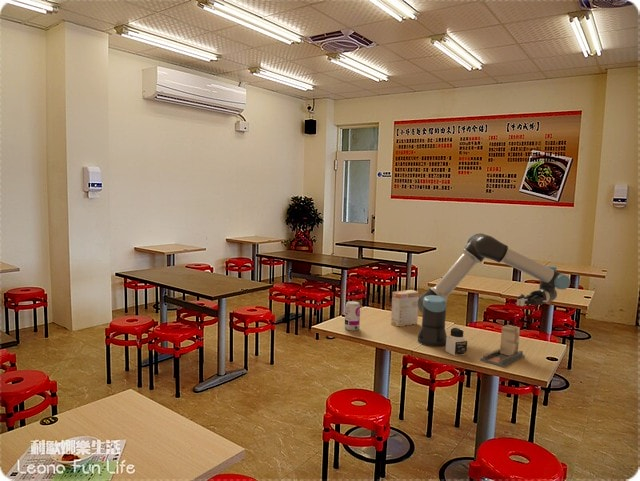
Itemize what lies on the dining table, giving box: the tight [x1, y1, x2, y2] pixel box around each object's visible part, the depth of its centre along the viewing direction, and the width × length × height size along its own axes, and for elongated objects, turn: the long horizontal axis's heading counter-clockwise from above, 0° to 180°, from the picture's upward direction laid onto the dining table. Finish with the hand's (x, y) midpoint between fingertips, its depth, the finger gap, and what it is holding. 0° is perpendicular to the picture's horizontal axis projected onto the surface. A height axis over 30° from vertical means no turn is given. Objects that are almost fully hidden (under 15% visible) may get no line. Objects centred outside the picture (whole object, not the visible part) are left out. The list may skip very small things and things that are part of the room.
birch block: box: [499, 324, 521, 356], centre depth 224 cm, size 6×6×13 cm
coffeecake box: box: [390, 289, 420, 327], centre depth 275 cm, size 15×7×20 cm, turn 120°
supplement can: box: [344, 300, 361, 332], centre depth 261 cm, size 8×8×15 cm
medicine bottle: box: [445, 327, 468, 357], centre depth 226 cm, size 7×7×12 cm
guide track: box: [480, 348, 526, 368], centre depth 220 cm, size 22×11×2 cm, turn 133°
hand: (519, 302), depth 227 cm, fingers closed
